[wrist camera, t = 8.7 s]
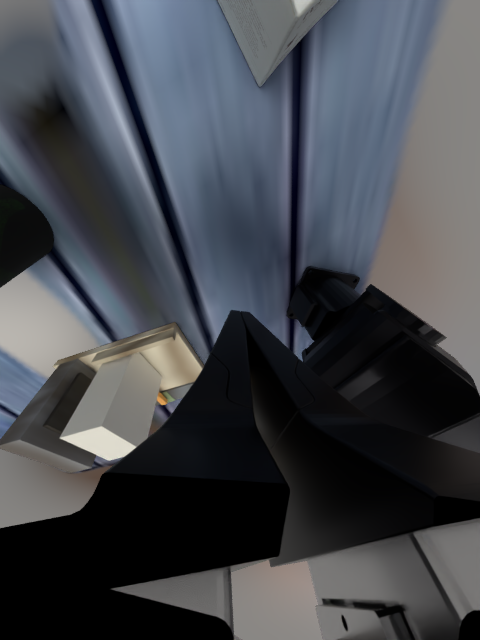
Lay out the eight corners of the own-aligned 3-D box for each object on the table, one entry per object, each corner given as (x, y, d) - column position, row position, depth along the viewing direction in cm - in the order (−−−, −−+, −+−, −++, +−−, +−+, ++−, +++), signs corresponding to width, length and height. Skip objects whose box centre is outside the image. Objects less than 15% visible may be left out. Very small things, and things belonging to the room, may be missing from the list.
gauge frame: (175, 322, 23) (155, 400, 15) (214, 381, 31) (215, 454, 23) (57, 360, 25) (-16, 449, 17) (122, 407, 32) (93, 485, 24)
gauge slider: (135, 348, 23) (101, 426, 16) (178, 394, 30) (167, 464, 23) (105, 357, 24) (59, 438, 17) (153, 401, 30) (135, 472, 23)
